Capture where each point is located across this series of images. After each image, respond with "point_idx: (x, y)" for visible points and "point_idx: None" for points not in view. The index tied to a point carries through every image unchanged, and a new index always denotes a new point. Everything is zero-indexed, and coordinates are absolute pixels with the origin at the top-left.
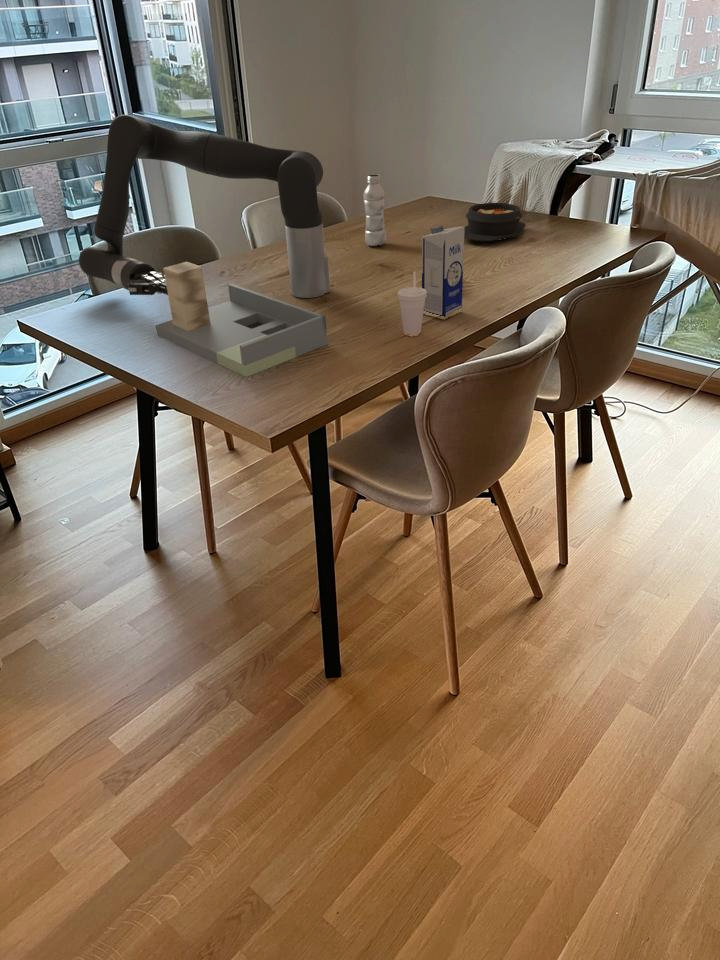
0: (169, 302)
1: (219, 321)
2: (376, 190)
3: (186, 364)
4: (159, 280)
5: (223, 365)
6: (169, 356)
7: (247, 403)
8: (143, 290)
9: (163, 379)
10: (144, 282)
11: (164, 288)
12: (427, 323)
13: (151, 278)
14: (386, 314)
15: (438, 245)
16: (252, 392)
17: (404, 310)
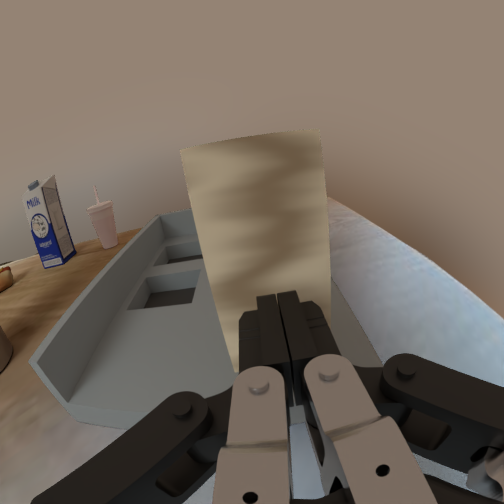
0: (330, 286)
1: (210, 316)
2: None
3: (351, 264)
4: (287, 437)
5: None
6: (374, 291)
7: None
8: (447, 429)
9: (391, 246)
10: (441, 482)
11: (318, 307)
12: (84, 253)
13: (374, 443)
14: (65, 274)
15: (53, 187)
16: None
17: (112, 217)
